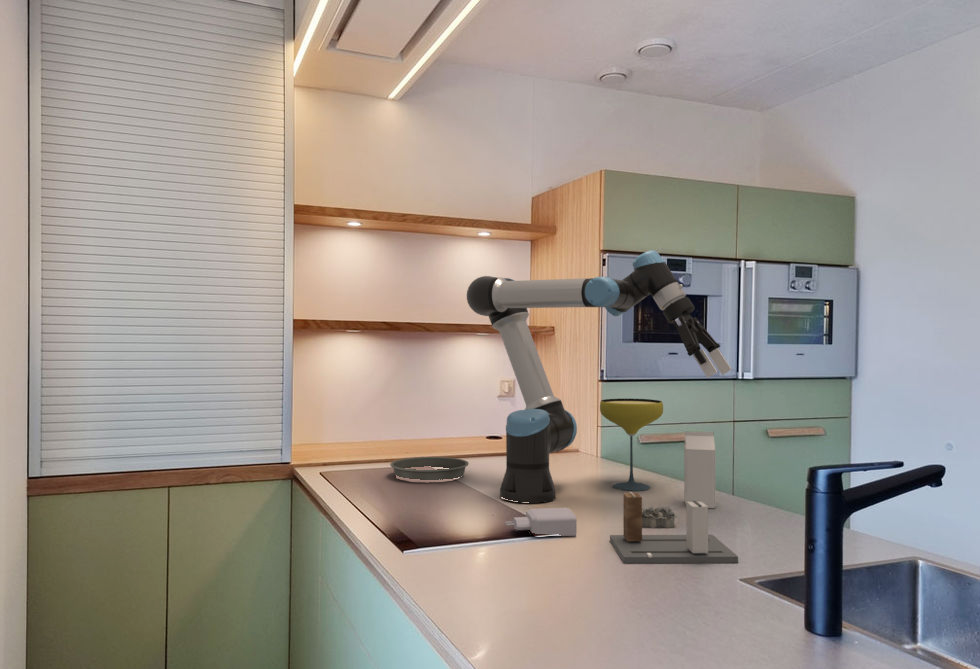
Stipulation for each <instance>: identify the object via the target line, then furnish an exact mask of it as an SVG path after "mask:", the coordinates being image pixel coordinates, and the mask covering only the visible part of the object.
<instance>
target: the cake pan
mask: <svg viewBox="0 0 980 669" xmlns="http://www.w3.org/2000/svg"><path fill="white" fill-rule="evenodd" d="M389 465H390V468H393V473H394V476H395V475H397V476H399V477H403V478H409V479H420V480H439V479H440V480H441V479H442V480H443V479H453V478H458V477H461V476H462V475H463V474H465V470H466V467H468V466H469V461H468V460H465V459H461V458H455V457H450V456H449V457H447V456H418V457H417V456H415V457H408V458H407V457H406V458H401V459H397V460H394V461H392V462H390V464H389ZM424 466H431V467H443V468H449V469H437V470H416V469H405V468H411V467H424ZM463 476H464V475H463Z"/></svg>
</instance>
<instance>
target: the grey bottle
mask: <svg viewBox="0 0 980 669" xmlns="http://www.w3.org/2000/svg"><path fill="white" fill-rule="evenodd" d="M512 518H513V519H512V521H504V524H505V525H506V526H507V527H508V526H509V527H510V526H513V528H514V530H515V529H516V530H515V531H528V530H530V531H531V532H532V533H535V534H559V535H561V536H572V537H577V516H576V514H574V512H573V511H572V510H571V509H570V508H568V507H548V508H546V507H545V508H542V507H541V508H529V509H528V510H526V511H525V516H523V517H522V516H521V517H519V516H518V517H515V516H514V517H512Z"/></svg>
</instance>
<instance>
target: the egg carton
mask: <svg viewBox="0 0 980 669" xmlns="http://www.w3.org/2000/svg"><path fill="white" fill-rule="evenodd" d="M675 518H677V516H676V514H675V512H674V511H673V510H672V508H671V507H670V506H665V507H664V506H663V507H662V506H661V508H660V507H656V508H655V507H654V506H651V507H642V528H644V527H649V528H651V529H652V528H654V529H655V528H658V527H662V528H665V529H666V528H667V529H669V528H672V527H673V528H674V527H675V526H676V525H675V520H676V519H675Z"/></svg>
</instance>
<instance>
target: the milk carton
mask: <svg viewBox="0 0 980 669" xmlns="http://www.w3.org/2000/svg"><path fill="white" fill-rule="evenodd" d="M683 446H684V448H683V451H684V452H683V453H684V454H683V456H684V457H683V458H684V459H683V461H684V462H683V467H684V468H683V469H684V470H683V472H684V474H683V475H684V476H683V478H684V479H683V482H684V483H683V484H684V485H683V486H684V490H683V492H684V494H683V497H684V503H685V504H684V505H686V502H693V500H695V501H697V502H702V503H704V504H705V505H706V506H708V509H716V445H715V435H714V431H688V430H687V431H684V444H683Z"/></svg>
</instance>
